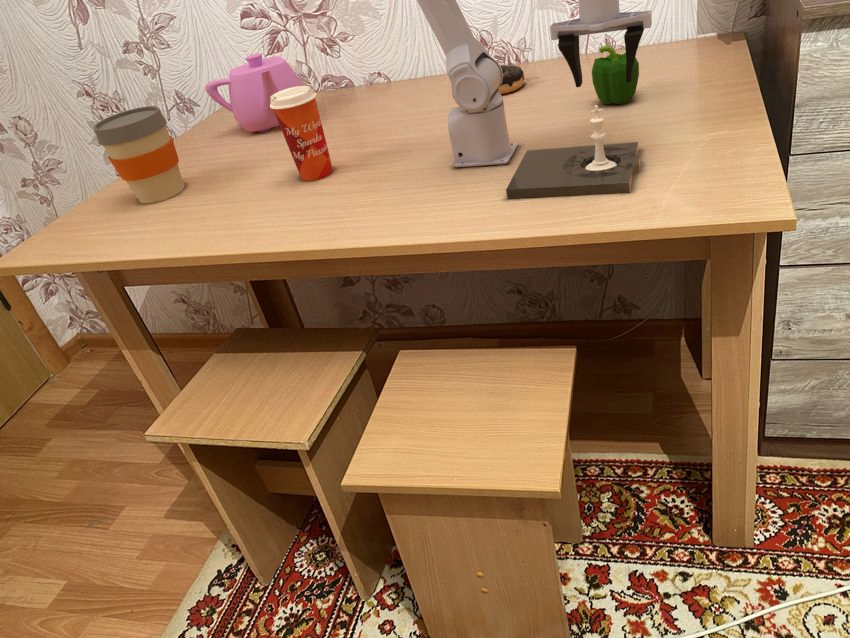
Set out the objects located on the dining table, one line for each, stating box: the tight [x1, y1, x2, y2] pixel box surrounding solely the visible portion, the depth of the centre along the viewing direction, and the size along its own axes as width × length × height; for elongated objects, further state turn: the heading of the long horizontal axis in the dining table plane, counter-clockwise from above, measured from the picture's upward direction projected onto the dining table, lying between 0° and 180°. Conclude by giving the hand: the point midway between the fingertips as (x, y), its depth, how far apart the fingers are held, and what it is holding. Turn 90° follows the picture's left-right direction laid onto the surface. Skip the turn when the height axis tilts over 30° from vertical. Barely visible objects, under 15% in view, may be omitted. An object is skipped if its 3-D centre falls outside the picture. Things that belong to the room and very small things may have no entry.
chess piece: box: [585, 104, 617, 171], centre depth 103 cm, size 5×5×10 cm
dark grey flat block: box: [505, 141, 641, 200], centre depth 106 cm, size 19×15×2 cm
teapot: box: [204, 52, 304, 133], centre depth 155 cm, size 23×21×15 cm
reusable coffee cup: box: [92, 105, 185, 204], centre depth 132 cm, size 13×13×15 cm
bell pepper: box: [591, 45, 640, 105], centre depth 127 cm, size 8×8×10 cm
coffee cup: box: [270, 85, 334, 182], centre depth 124 cm, size 8×8×15 cm
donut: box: [498, 64, 526, 95], centre depth 149 cm, size 11×12×4 cm
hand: (604, 82), depth 107 cm, fingers open, 7 cm apart
